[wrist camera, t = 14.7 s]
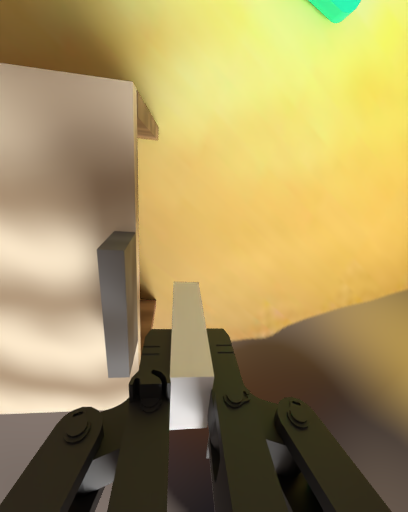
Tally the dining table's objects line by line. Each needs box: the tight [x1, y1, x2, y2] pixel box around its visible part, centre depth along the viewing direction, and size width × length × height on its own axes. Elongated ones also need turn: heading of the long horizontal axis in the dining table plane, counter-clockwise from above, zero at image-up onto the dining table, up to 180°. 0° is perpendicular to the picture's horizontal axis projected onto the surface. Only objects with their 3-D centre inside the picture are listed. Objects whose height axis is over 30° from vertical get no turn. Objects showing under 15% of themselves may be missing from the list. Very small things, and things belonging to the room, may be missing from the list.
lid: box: [0, 63, 141, 414], centre depth 13 cm, size 22×14×4 cm, turn 175°
